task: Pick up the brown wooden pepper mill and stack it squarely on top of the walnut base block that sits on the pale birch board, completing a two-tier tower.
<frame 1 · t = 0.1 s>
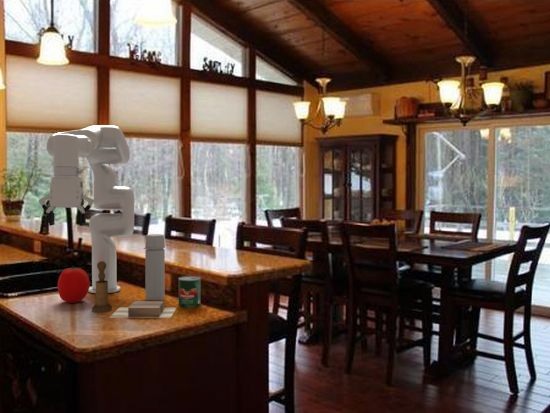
hand: (67, 225, 183), 31 cm above the worktop, tool pointing down, fingers open, 9 cm apart
canned tomato: (189, 308, 202), on the worktop
birch board: (144, 315, 191), on the worktop
walnut base block: (146, 313, 190), point 1 cm above the worktop, touching birch board
brown wooden pepper mill: (101, 314, 193), on the worktop
water bottle: (153, 300, 214), on the worktop
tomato: (73, 302, 210), on the worktop
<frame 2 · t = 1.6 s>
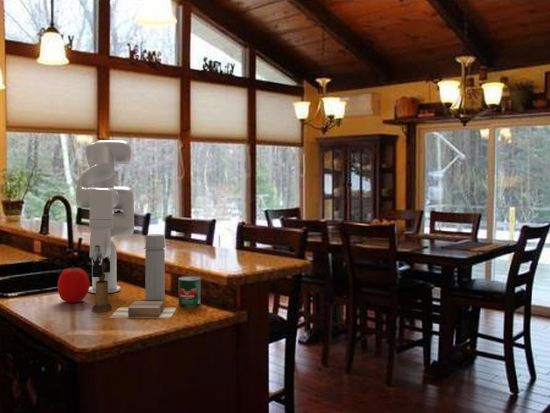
hand: (101, 274, 192), 14 cm above the worktop, tool pointing down, fingers open, 9 cm apart
nothing on the worktop moved.
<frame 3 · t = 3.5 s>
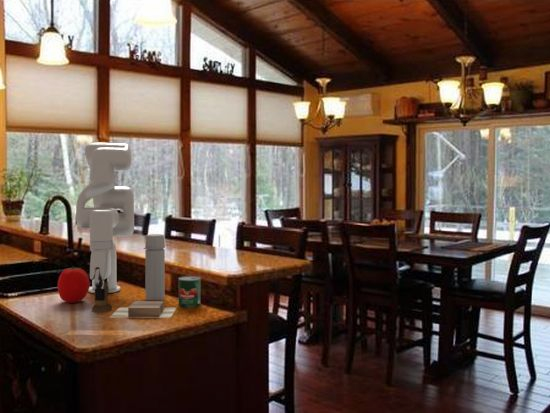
hand: (101, 298, 193), 5 cm above the worktop, tool pointing down, fingers closed on brown wooden pepper mill, 4 cm apart
brown wooden pepper mill: (101, 314, 193), on the worktop, touching gripper
everything else where it was.
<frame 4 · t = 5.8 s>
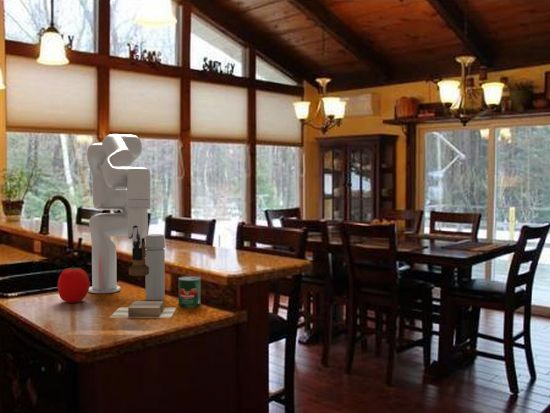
hand: (139, 258, 189), 20 cm above the worktop, tool pointing down, fingers closed on brown wooden pepper mill, 4 cm apart
brown wooden pepper mill: (138, 274, 189), point 14 cm above the worktop, touching gripper
everything else where it was.
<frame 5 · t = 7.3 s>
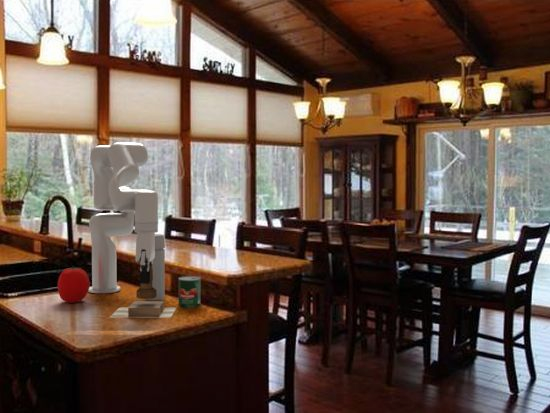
hand: (146, 281, 189), 12 cm above the worktop, tool pointing down, fingers closed on brown wooden pepper mill, 4 cm apart
brown wooden pepper mill: (146, 297, 189), point 6 cm above the worktop, touching gripper
everything else where it was.
when the fingers open (11 cm above the worktop, at t = 8.3 s): brown wooden pepper mill stays where it is, resting on walnut base block.
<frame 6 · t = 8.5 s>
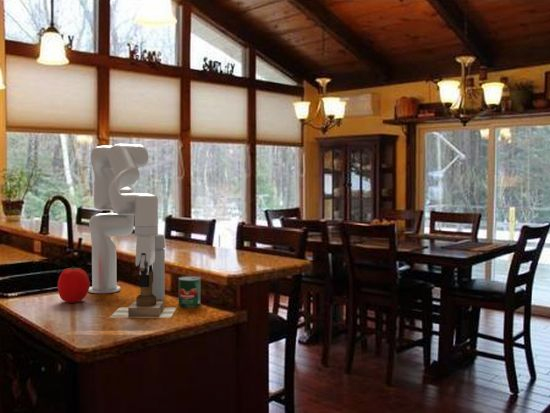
hand: (146, 284, 189), 11 cm above the worktop, tool pointing down, fingers open, 5 cm apart
walnut base block: (146, 313, 190), point 1 cm above the worktop, touching birch board, brown wooden pepper mill
brown wooden pepper mill: (146, 304, 190), point 4 cm above the worktop, touching walnut base block
everything else where it was.
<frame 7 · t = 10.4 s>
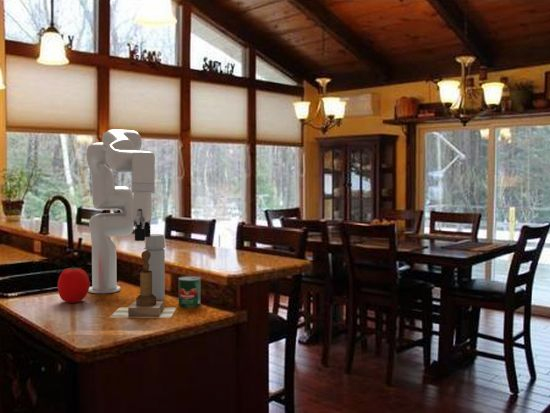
hand: (142, 238, 190), 26 cm above the worktop, tool pointing down, fingers open, 9 cm apart
nothing on the worktop moved.
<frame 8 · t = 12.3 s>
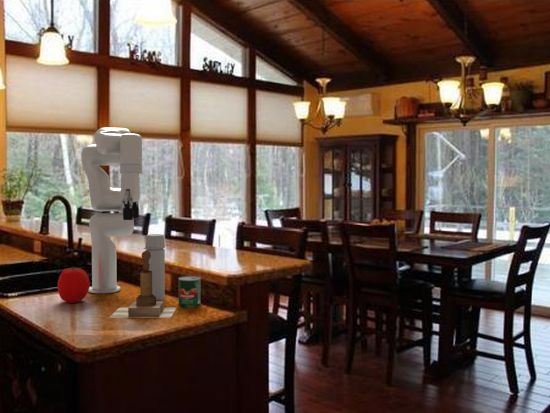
hand: (131, 218, 197), 32 cm above the worktop, tool pointing down, fingers open, 9 cm apart
nothing on the worktop moved.
at the end: brown wooden pepper mill inside the target area on the walnut base block (0.2 cm from its centre), point 2.8 cm above the walnut base block's base; brown wooden pepper mill tilted 0°; the gripper is holding nothing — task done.
